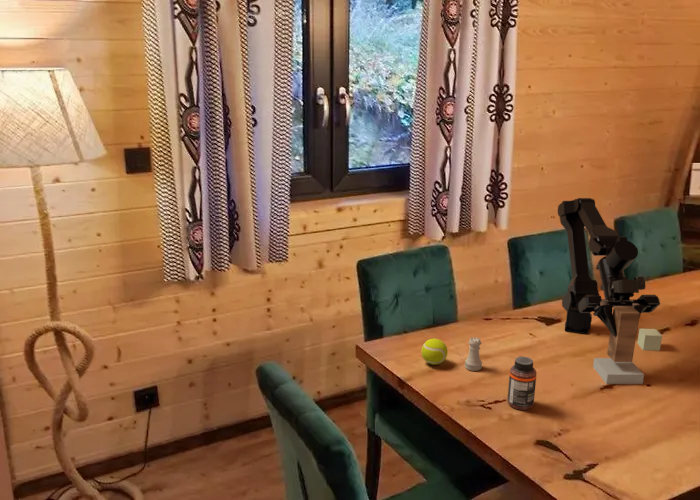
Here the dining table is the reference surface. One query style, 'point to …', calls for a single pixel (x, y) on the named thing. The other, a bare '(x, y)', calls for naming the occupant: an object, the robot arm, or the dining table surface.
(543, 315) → the dining table surface
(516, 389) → the supplement bottle
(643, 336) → the sage cube
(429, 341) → the tennis ball
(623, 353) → the walnut pillar
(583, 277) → the robot arm
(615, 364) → the slate slab
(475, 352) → the rook chess piece
